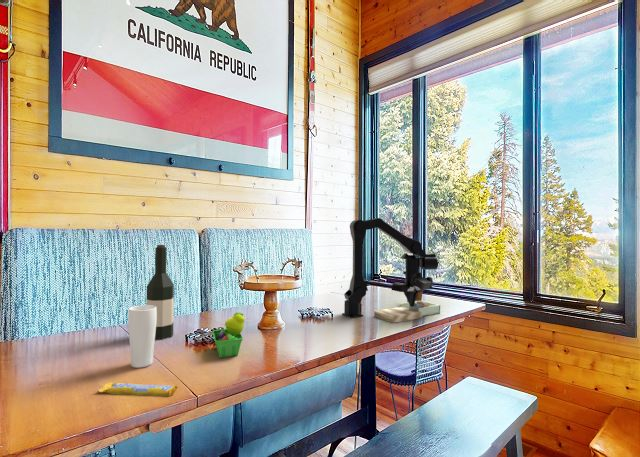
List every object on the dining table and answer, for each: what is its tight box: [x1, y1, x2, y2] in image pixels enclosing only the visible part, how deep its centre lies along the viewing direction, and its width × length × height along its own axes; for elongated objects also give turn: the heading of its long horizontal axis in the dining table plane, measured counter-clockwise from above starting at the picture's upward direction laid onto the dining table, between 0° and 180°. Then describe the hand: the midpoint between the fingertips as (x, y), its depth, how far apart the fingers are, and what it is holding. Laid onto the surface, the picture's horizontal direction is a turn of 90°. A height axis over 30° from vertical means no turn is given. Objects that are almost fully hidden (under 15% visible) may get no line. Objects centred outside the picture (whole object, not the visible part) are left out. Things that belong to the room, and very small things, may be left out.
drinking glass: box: [127, 304, 157, 369], centre depth 97 cm, size 7×7×15 cm
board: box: [373, 306, 423, 324], centre depth 153 cm, size 16×11×2 cm
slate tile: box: [409, 303, 423, 311], centre depth 159 cm, size 4×4×3 cm
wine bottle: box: [145, 244, 175, 341], centre depth 122 cm, size 8×8×30 cm
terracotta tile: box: [417, 301, 429, 307], centre depth 161 cm, size 4×4×3 cm
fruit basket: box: [212, 311, 246, 358], centre depth 109 cm, size 11×9×11 cm
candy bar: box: [97, 381, 179, 397], centre depth 82 cm, size 17×4×2 cm, turn 87°
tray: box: [399, 300, 441, 317], centre depth 162 cm, size 13×11×4 cm
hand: (411, 306), depth 157 cm, fingers closed
